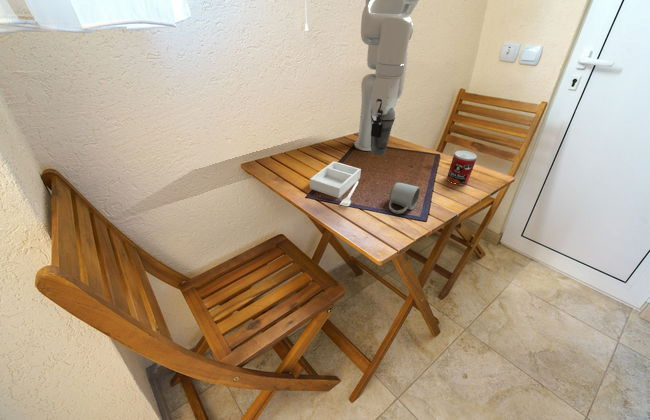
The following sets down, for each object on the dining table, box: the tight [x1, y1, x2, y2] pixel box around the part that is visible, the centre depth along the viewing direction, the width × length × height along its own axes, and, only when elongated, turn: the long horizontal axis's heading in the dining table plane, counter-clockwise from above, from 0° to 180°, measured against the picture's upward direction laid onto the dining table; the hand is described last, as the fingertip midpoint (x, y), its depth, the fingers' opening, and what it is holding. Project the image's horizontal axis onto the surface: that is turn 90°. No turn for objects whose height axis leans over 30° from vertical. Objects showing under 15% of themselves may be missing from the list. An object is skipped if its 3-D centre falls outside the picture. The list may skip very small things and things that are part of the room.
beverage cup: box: [370, 107, 396, 157], centre depth 87 cm, size 7×7×20 cm
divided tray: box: [309, 161, 362, 199], centre depth 106 cm, size 17×12×4 cm
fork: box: [338, 180, 360, 207], centre depth 101 cm, size 3×20×2 cm, turn 159°
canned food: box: [446, 150, 478, 185], centre depth 108 cm, size 8×8×11 cm
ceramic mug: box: [388, 182, 421, 215], centre depth 94 cm, size 11×8×8 cm
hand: (380, 132), depth 89 cm, fingers closed on beverage cup, 7 cm apart
